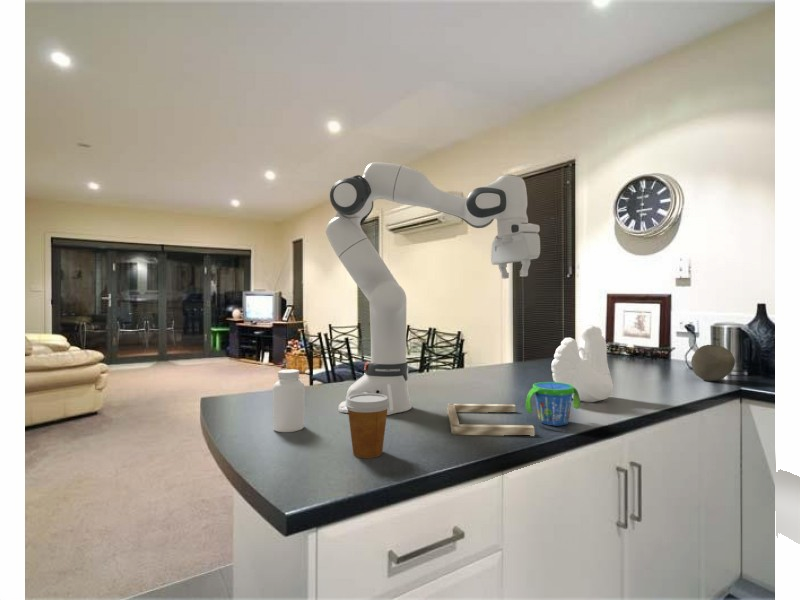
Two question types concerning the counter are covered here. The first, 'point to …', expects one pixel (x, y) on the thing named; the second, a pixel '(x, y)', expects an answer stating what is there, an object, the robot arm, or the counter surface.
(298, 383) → the pill bottle
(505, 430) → the wooden frame
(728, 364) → the cantaloupe
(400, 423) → the counter surface
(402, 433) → the counter surface
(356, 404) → the disposable coffee cup
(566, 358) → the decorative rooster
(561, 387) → the snack cup
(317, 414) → the counter surface
